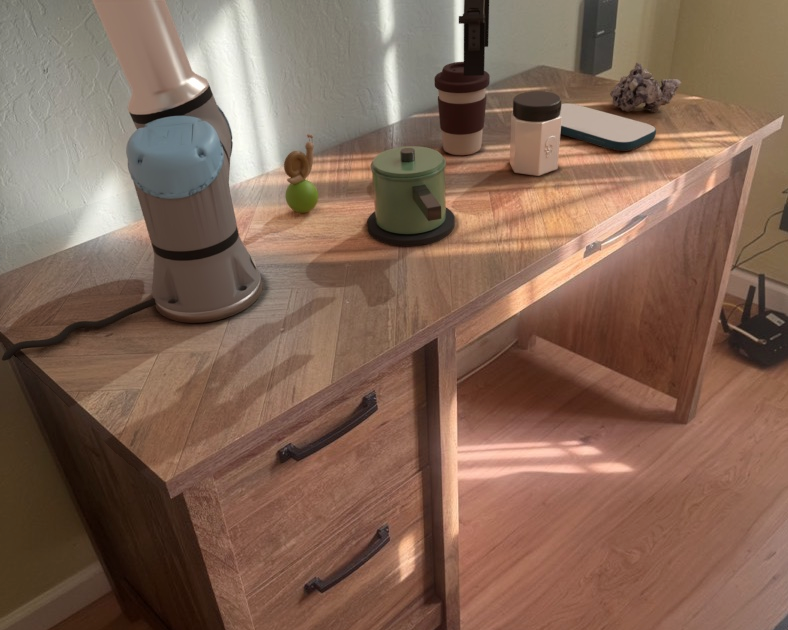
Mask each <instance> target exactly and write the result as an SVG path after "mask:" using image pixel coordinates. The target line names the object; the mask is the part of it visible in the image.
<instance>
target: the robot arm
mask: <svg viewBox="0 0 788 630" xmlns="http://www.w3.org/2000/svg"><path fill="white" fill-rule="evenodd" d="M91 2H92V3H93V5H94V7H95V11H96V13H97V15H98V17H99V19H100V22H101V24H102V26H103V28H104V31H105V33H106V36H107V38H108V40H109V42H110V45H111V47H112V49H113V51H114V53H115V56H116V59H117V60H118V63H119V65H120V67H121V70H122V72H123V74H124V77H125V78H126V81H127V83H128V85H129V87H130V90H131V96H130V98H129V101H128V103H127V106H126V107H127V108H126V109H127V111H128V113H129V116H130V118H131V120H132V123H133V125H134V126H135V129H136V130H135V131H134V132H133V133H131V135H130V136H129V138H128V140H127V143H126V148H125V151H126V158H127V169H128V172H129V174H130V178H131V180H132V182H133V185H134V189H135V192H136V196H137V199H138V202H139V206H140V209H141V213H142V216H143V219H144V223H145V226H146V227H145V228H146V229H147V233H148V237H149V241H150V243H151V247H152V250H153V255H154V257H153V270H152V285H151V291H152V292H151V295H152V298H149V299H148V300H147V299H146V300H145V301H143V302H140V303H137V304H135V305H132V306H130V307H128V308H125V309H123V310H121V311H119V312H117V313H115V314H113V315H111V316H108V317H106V318H103V319H100V320H94V321H93V320H80V321H75V322H72V323H70V324H68V325H67V326H66V327H65V328H63V329H62V330H61V331H60V332H59V333H58V334H57V335H55V336H53V337H50V338H44V339H34V340H24V341H19V342H16V343H13V344H12V345H11V346H9V347H8V348H7V349H6V350H5V351H4V353H3V355H2V357H1V361H5V362H6V361H8V360H10V359H12V357H13V356H14V355H15V354H16V353H18V352H19V351H21V350H25V349H34V348H38V349H39V348H46V347H51V346H55V345H58V344H60V343H61V342H63V341H64V340H66V339H67V338H68V337H69V336H70V335H71V334H72V333H73V332H75V331H78V330H81V329H89V330H91V329H93V330H94V329H102V328H105V327H109V326H110V325H113V324H114V323H117V322H120V321H121V320H123V319H125V318H127V317H130V316H133V315H134V314H137V313H139V312H142V311H144V310H146V309H149V308H151V307H154V306H155V308H156V311H158V313H160V315H161V316H163V317H165V318H167V319H169V320H172V321H176V322H179V323H188V324H189V323H190V324H198V323H199V324H200V323H201V324H202V323H208V322H216V321H219V320H223V319H225V318H229V317H232V316H234V315H237V314H239V313H241V312H243V311H244V310H246V309H248V308H249V307H251V306H252V305H253V304H254V303H255V302H256V301H257V300H258V299H259V298H260V296H261V294H262V291H263V281H262V276H261V272H260V270H259V267H258V266H257V265H256V260H255V258H254V256H253V255H252V254H251V252H249V251H248V249H247V248H246V246H245V244H244V243H243V241H242V239H241V237H240V233H239V228H238V224H237V223H238V222H237V218H236V213H235V209H234V203H233V199H232V193H231V188H230V187H231V186H230V170H231V157H232V154H233V153H232V152H233V145H234V142H233V132H232V128H231V125H230V123H229V120H228V118H227V117H226V115H225V113H224V111H223V109H222V108H221V107H220V106H219V105H218V104H217V101H216V99H215V95H214V93H213V91H212V89H211V86H210V82H209V81H208V79H207V78H205V77H203V76H201V75H199V74H198V73H195V72H194V71H193V69H192V67H191V64H190V62H189V59H188V56H187V53H186V51H185V48H184V45H183V42H182V41H181V38H180V35H179V33H178V30H177V28H176V25H175V23H174V19H173V16H172V14H171V11H170V9H169V6H168V4H167V1H166V0H91ZM460 24H461V25H463V62H464V76H478V75H484V71H485V59H486V58H485V57H486V55H485V54H486V53H485V51H486V48H488V47H489V36H490V35H489V33H490V31H489V29H490V0H463V13H462V15H458V25H460Z"/></svg>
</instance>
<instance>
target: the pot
mask: <svg viewBox="0 0 788 630" xmlns="http://www.w3.org/2000/svg"><path fill="white" fill-rule="evenodd" d="M369 166H370V167H369V168H370V172H371V178H372V190H373V204H374V211H375V218H376V223H377V225H378V226H379V227H380V228H382V229H384V230H386V231H389V232H392V233H398V234H417V233H423V232H427V231H430V230H433V229H435V228H437V227H439V226H440V225H441V224H442V223H443V222H444V221H445V218H446V208H447V205H446V203H447V201H446V200H447V199H446V197H447V196H446V166H447V161H446V158H445V157H444V156H443V154H441V152H440V151H438V150H436V149H433V148H430V147H425V146H417V145H415V146H414V145H407V146H406V145H405V146H399V147H393V148H389V149H387V150H384V151H381V152H380V153H378V154H377V155H376V156H375V157H374V158H373V159H372V161H371V162H370V164H369Z"/></svg>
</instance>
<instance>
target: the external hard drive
mask: <svg viewBox="0 0 788 630" xmlns="http://www.w3.org/2000/svg"><path fill="white" fill-rule="evenodd" d="M560 115H561V117H562V120H561V133H560V135H563V136H566V137H570V138H573V139H576V140H579V141H583V142H586V143H588V144H589V143H590V144H592V145H596V146H599V147H602V148H606V149H608V150H614V151H621V152H622V151H623V152H625V151H631V150H635V149H637V148H639V147H641V146H643V145H646V144H647V143H650V142H652V141H653V140H654V139H655V138H656V135H657V128H656V127H655V126H653V125H652V124H649V123H646V122H643V121H640V120H635V119H632V118H628V117H626V116H625V117H624V116H621V115H617V114H613V113H610V112H606V111H602V110H598V109H594V108H591V107H588V106H583V105H579V104H576V103H569V102H567V103H566V102H565V103H561V111H560Z"/></svg>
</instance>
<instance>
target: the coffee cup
mask: <svg viewBox="0 0 788 630" xmlns="http://www.w3.org/2000/svg"><path fill="white" fill-rule="evenodd" d="M490 77H491V75H490V74H489V72H487V71H486V70H484V75H478V76H464V61H456V62H451V63H447V64H445V65H444V66H443V67H442V69H441V71H440V72H438V73H437V74H436V75H435V76H434V79H433V80H434V87H435V89H437V91H438V95H437V105H438V117H439V127H440V130H441V138H442V139H441V140H442V149H443V151H444V152H446V153H448V154H449V155H452V156H453V155H454V156H468V155H473V154H476V153H477V152H479V151H480V150H481V148H482V143H483V142H482V141H483V131H484V127H485V121H486V110H487V109H486V107H487V94H486V93H487V88H488V87H489V85H490Z"/></svg>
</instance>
